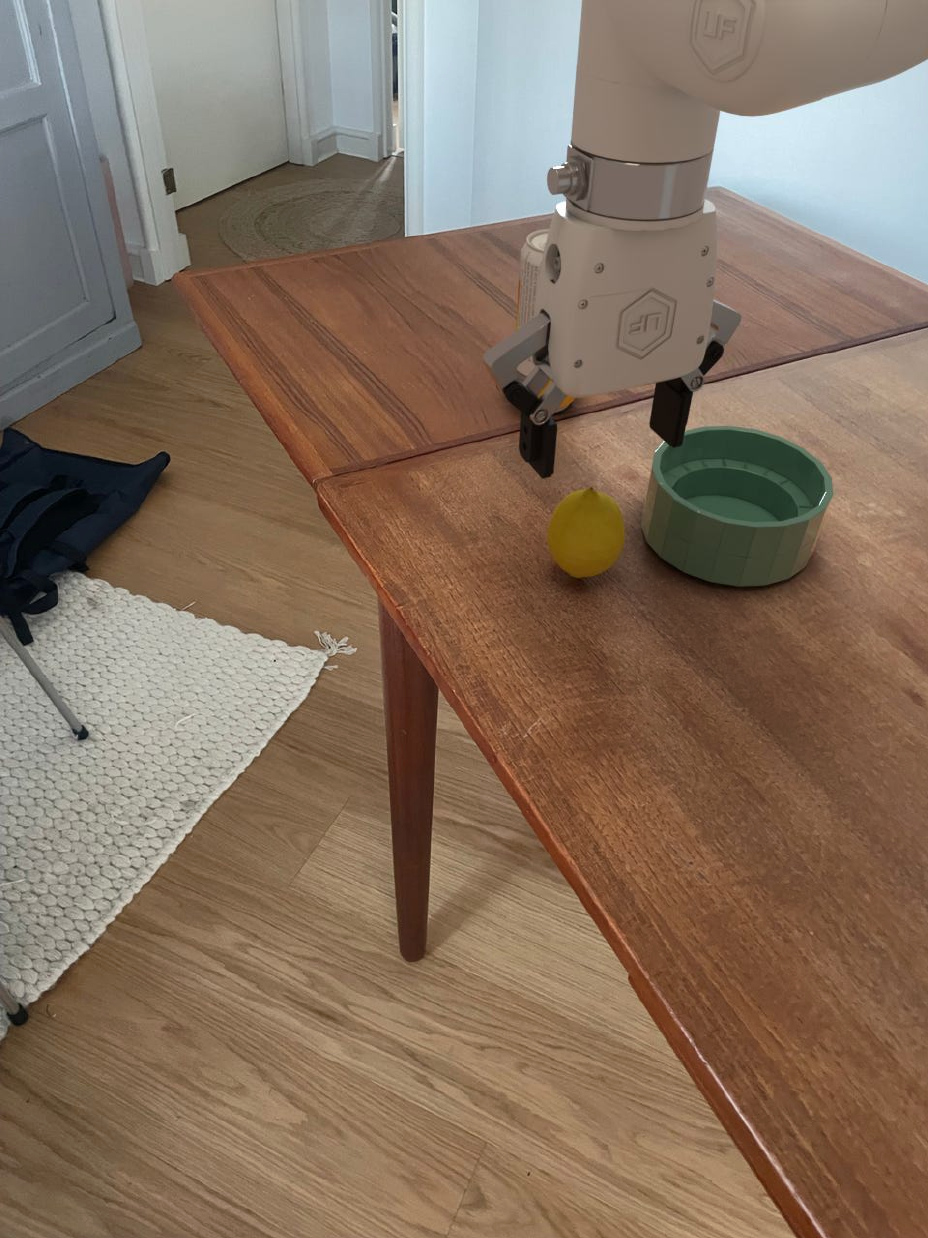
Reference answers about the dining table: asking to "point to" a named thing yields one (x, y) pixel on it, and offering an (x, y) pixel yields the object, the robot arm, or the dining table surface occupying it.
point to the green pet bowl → (735, 505)
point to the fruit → (586, 533)
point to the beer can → (531, 296)
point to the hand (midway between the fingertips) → (602, 451)
